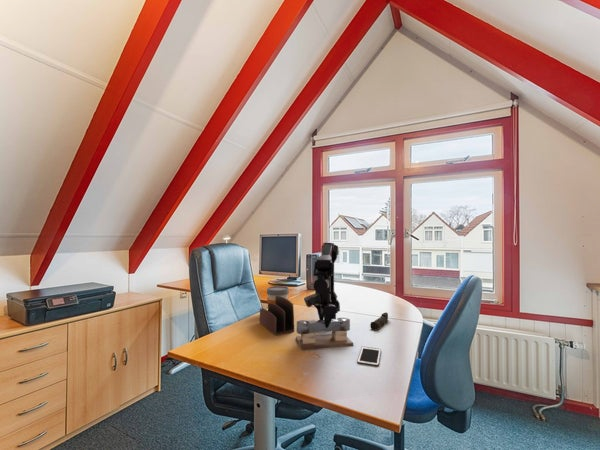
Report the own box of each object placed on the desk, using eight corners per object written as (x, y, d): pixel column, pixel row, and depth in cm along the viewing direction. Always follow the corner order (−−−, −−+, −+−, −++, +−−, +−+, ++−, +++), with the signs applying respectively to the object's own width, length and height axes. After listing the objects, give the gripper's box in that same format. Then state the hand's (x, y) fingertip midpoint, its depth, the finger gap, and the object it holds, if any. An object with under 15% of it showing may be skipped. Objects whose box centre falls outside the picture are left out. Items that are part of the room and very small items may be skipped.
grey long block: (346, 326, 128) (346, 317, 128) (351, 330, 122) (351, 321, 122) (295, 330, 123) (295, 320, 123) (298, 334, 117) (298, 325, 117)
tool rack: (295, 338, 126) (295, 327, 126) (342, 335, 131) (342, 324, 131) (301, 350, 114) (301, 337, 114) (353, 345, 119) (353, 333, 119)
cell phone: (381, 351, 114) (381, 348, 114) (378, 368, 100) (378, 365, 100) (361, 348, 117) (361, 346, 117) (356, 364, 103) (356, 361, 103)
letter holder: (276, 320, 152) (276, 293, 152) (294, 332, 135) (294, 302, 135) (259, 323, 147) (259, 295, 147) (275, 335, 130) (275, 304, 130)
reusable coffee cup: (262, 315, 159) (262, 288, 160) (275, 310, 170) (275, 285, 170) (280, 319, 153) (280, 291, 153) (293, 313, 163) (293, 287, 164)
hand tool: (377, 331, 136) (377, 321, 136) (370, 329, 139) (370, 319, 139) (392, 321, 151) (392, 312, 151) (385, 319, 154) (385, 311, 154)
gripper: (300, 284, 130) (300, 319, 130) (311, 293, 112) (311, 333, 112) (324, 283, 132) (324, 317, 132) (338, 292, 114) (338, 331, 114)
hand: (323, 324), depth 122 cm, fingers open, 8 cm apart
